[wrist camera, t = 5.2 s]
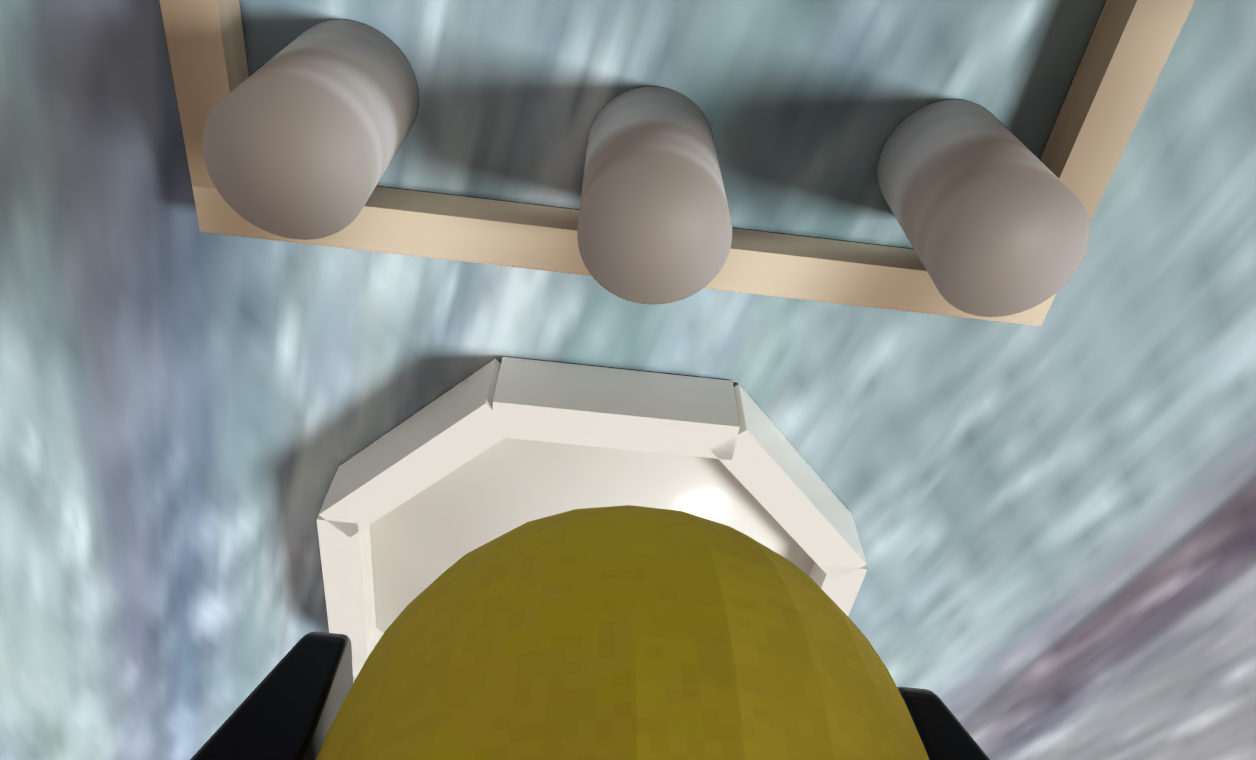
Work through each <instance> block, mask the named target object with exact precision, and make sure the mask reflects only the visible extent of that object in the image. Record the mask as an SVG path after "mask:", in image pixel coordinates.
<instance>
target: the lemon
mask: <svg viewBox="0 0 1256 760" xmlns="http://www.w3.org/2000/svg"><path fill="white" fill-rule="evenodd" d="M315 760H929V758H928V755H927V753H926V750H925V748H924V745H923V743H922V741H921V738H920V736H919V734H918V731H917V729H916V727H915V724H914V722H913V720H912V717H911V715H910V713H909V710H908V708H907V706H906V704H905V702H904V700H903V698H902V696H901V694H900V692H899V690H898V688H897V687H896V685H895V683H894V681H893V679H892V677H891V675H890V673H889V671H888V670H887V668H886V666H885V665H884V663H883V662H882V660H881V659H880V657H879V656H878V654H877V653H876V651H875V650H874V648H873V647H872V645H871V644H870V642H869V641H868V639H867V638H866V637H865V636H864V635H863V633H862V632H861V631H860V630H859V629H858V628H857V627H856V625H855V624H854V623H853V622H852V621H851V620H850V619H849V617H848V616H847V615H846V614H845V613H844V612H843V611H842V610H841V609H840V608H839V607H838V605H837V604H836V603H835V602H834V601H833V600H832V599H831V598H830V597H829V596H828V595H827V594H826V593H825V592H824V591H823V590H822V589H821V588H820V587H819V586H818V585H817V584H816V583H815V582H814V580H813V579H812V578H810V577H809V576H808V575H807V574H806V573H804V572H803V571H802V570H801V569H799V568H798V567H797V566H796V565H795V564H793V563H792V562H791V561H789V560H788V559H786V558H784V557H783V556H781V555H779V554H778V553H776V552H774V551H773V550H771V549H769V548H767V547H766V546H764V545H762V544H761V543H759V542H757V541H756V540H754V539H752V538H751V537H749V536H747V535H745V534H743V533H742V532H740V531H738V530H736V529H734V528H732V527H730V526H727V525H724V524H721V523H718V522H715V521H711V520H708V519H705V518H702V517H699V516H696V515H693V514H690V513H687V512H684V511H677V510H668V509H659V508H650V507H641V506H632V505H626V506H611V507H597V508H583V509H575V510H571V511H567V512H563V513H559V514H556V515H552V516H548V517H544V518H541V519H537V520H533V521H529V522H526V523H525V524H523V525H521V526H519V527H517V528H515V529H513V530H511V531H509V532H507V533H505V534H503V535H501V536H499V537H498V538H496V539H494V540H492V541H490V542H488V543H486V544H484V545H482V546H480V547H478V548H477V549H475V550H473V551H471V552H469V553H467V554H465V555H464V556H463V557H462V558H460V559H459V560H458V561H457V562H456V563H454V564H453V565H452V566H451V567H449V568H448V569H447V570H446V571H445V572H444V573H442V574H441V575H440V576H439V577H438V578H437V579H436V580H435V581H434V582H433V583H431V584H430V585H429V586H428V587H427V588H426V589H425V590H424V591H423V592H421V593H420V594H419V595H418V596H417V597H416V598H415V599H414V600H413V601H412V602H410V603H409V604H408V605H407V606H406V608H405V609H404V610H403V611H402V612H401V613H400V614H399V616H398V617H397V618H396V619H395V620H394V621H393V622H392V624H391V625H390V626H389V627H388V628H387V629H386V631H385V632H384V634H383V635H382V637H381V638H380V640H379V641H378V643H377V644H376V646H375V647H374V649H373V650H372V652H371V653H370V655H369V656H368V658H367V659H366V661H365V663H364V665H363V667H362V668H361V670H360V672H359V674H358V676H357V678H356V679H355V681H354V683H353V685H352V687H351V689H350V691H349V692H348V694H347V696H346V698H345V700H344V702H343V703H342V705H341V707H340V709H339V711H338V713H337V715H336V717H335V719H334V721H333V722H332V724H331V726H330V728H329V730H328V732H327V734H326V736H325V738H324V740H323V742H322V744H321V747H320V749H319V751H318V754H317V756H316V758H315Z"/></svg>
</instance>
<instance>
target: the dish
mask: <svg viewBox="0 0 1256 760" xmlns="http://www.w3.org/2000/svg"><path fill="white" fill-rule="evenodd" d="M626 505H632V506H641V507H650V508H659V509H668V510H677V511H684V512H687V513H690V514H693V515H696V516H699V517H702V518H705V519H708V520H711V521H715V522H718V523H721V524H724V525H727V526H730V527H732V528H734V529H736V530H738V531H740V532H742V533H743V534H745V535H747V536H749V537H751V538H752V539H754V540H756V541H757V542H759V543H761V544H762V545H764V546H766V547H767V548H769V549H771V550H773V551H774V552H776V553H778V554H779V555H781V556H783V557H784V558H786V559H788V560H789V561H791V562H792V563H793V564H795V565H796V566H797V567H798V568H799V569H801V570H802V571H803V572H804V573H806V574H807V575H808V576H809V577H810V578H812V579H813V580H814V582H815V583H816V584H817V585H818V586H819V587H820V588H821V589H822V590H823V591H824V592H825V593H826V594H827V595H828V596H829V597H830V598H831V599H832V600H833V601H834V602H835V603H836V604H837V605H838V607H839V608H840V609H841V610H842V611H843V612H844V613H845V614H846V615H847V616H848V615H849V613H850V610H851V608H852V605H853V603H854V601H855V598H856V596H857V593H858V591H859V589H860V586H861V584H862V581H863V579H864V577H865V574H866V572H867V566H866V565H867V564H866V560H865V557H864V554H863V550H862V547H861V543H860V540H859V537H858V533H857V530H856V526H855V523H854V520H853V516H852V514H851V513H850V512H849V511H848V510H847V509H846V507H845V506H844V505H843V504H842V503H841V502H840V500H839V499H838V498H837V497H836V496H835V495H834V493H833V492H832V491H831V490H830V489H829V488H828V487H827V485H826V484H825V483H824V482H823V481H822V480H821V478H820V477H819V476H818V475H817V474H816V473H815V471H814V470H813V469H812V468H811V467H810V466H809V465H808V463H807V462H806V461H805V460H804V459H803V458H802V456H801V455H800V454H799V453H798V452H797V451H796V449H795V448H794V447H793V446H792V445H791V444H790V443H789V441H788V440H787V439H786V438H785V437H784V436H783V434H782V433H781V432H780V431H779V430H778V429H777V427H776V426H775V425H774V424H773V423H772V422H771V421H770V419H769V418H768V417H767V416H766V415H765V414H764V412H763V411H762V410H761V409H760V408H759V407H758V406H757V404H756V403H755V402H754V401H753V400H752V399H751V397H750V396H749V395H748V394H747V393H746V392H745V390H744V389H743V388H742V387H741V386H740V385H739V384H738V385H736V386H734V387H733V381H729V380H720V379H710V378H701V377H691V376H682V375H672V374H663V373H653V372H644V371H634V370H625V369H615V368H605V367H596V366H586V365H577V364H567V363H558V362H548V361H539V360H529V359H520V358H510V357H502V362H501V363H500V362H499V361H498V360H497V359H496V358H495V359H494V360H492V361H491V362H489V363H488V364H487V365H485V366H484V367H482V368H481V369H479V370H478V371H476V372H475V373H473V374H472V375H471V376H469V377H468V378H466V379H465V380H463V381H462V382H460V383H459V384H458V385H456V386H455V387H453V388H452V389H450V390H449V391H447V392H446V393H444V394H443V395H442V396H440V397H439V398H437V399H436V400H434V401H433V402H431V403H430V404H429V405H427V406H426V407H424V408H423V409H421V410H420V411H418V412H417V413H416V414H414V415H413V416H411V417H410V418H408V419H407V420H405V421H404V422H402V423H401V424H400V425H398V426H397V427H395V428H394V429H392V430H391V431H389V432H388V433H387V434H385V435H384V436H382V437H381V438H379V439H378V440H376V441H375V442H373V443H372V444H371V445H369V446H368V447H366V448H365V449H363V450H362V451H360V452H359V453H358V454H356V455H355V456H353V457H352V458H350V459H349V460H347V461H346V462H345V463H343V464H342V465H340V466H339V467H338V470H337V471H336V473H335V476H334V478H333V481H332V483H331V486H330V488H329V490H328V493H327V495H326V498H325V500H324V502H323V505H322V507H321V510H320V512H319V514H318V517H317V519H316V520H317V529H318V538H319V547H320V555H321V564H322V573H323V581H324V590H325V599H326V608H327V616H328V625H329V633H337V634H344V635H347V636H348V637H349V638H350V641H351V645H352V669H353V676H354V677H356V678H357V676H358V674H359V672H360V670H361V668H362V667H363V665H364V663H365V661H366V659H367V658H368V656H369V655H370V653H371V652H372V650H373V649H374V647H375V646H376V644H377V643H378V641H379V640H380V638H381V637H382V635H383V634H384V632H385V631H386V629H387V628H388V627H389V626H390V625H391V624H392V622H393V621H394V620H395V619H396V618H397V617H398V616H399V614H400V613H401V612H402V611H403V610H404V609H405V608H406V606H407V605H408V604H409V603H410V602H412V601H413V600H414V599H415V598H416V597H417V596H418V595H419V594H420V593H421V592H423V591H424V590H425V589H426V588H427V587H428V586H429V585H430V584H431V583H433V582H434V581H435V580H436V579H437V578H438V577H439V576H440V575H441V574H442V573H444V572H445V571H446V570H447V569H448V568H449V567H451V566H452V565H453V564H454V563H456V562H457V561H458V560H459V559H460V558H462V557H463V556H464V555H465V554H467V553H469V552H471V551H473V550H475V549H477V548H478V547H480V546H482V545H484V544H486V543H488V542H490V541H492V540H494V539H496V538H498V537H499V536H501V535H503V534H505V533H507V532H509V531H511V530H513V529H515V528H517V527H519V526H521V525H523V524H525V523H526V522H529V521H533V520H537V519H541V518H544V517H548V516H552V515H556V514H559V513H563V512H567V511H571V510H575V509H583V508H597V507H611V506H626Z"/></svg>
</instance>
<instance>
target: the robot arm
mask: <svg viewBox="0 0 1256 760" xmlns="http://www.w3.org/2000/svg"><path fill="white" fill-rule="evenodd" d="M352 685H353V669H352V645H351V641H350V638H349V637H348V636H347V635H344V634H337V633H326V632H310V633H308V634H306V635H305V636H304V637H302V638H301V639H300V640H299V642H298V643H297V644H296V645H295V646H294V647H293V648H292V649H291V650H290V651H289V652H288V654H287V655H286V656H285V657H284V658H283V659H282V660H281V661H280V662H279V663H278V664H277V666H276V667H275V668H274V669H273V670H272V671H271V672H270V673H269V674H268V675H267V676H266V678H265V679H264V680H263V681H262V682H261V683H260V684H259V685H258V686H257V687H256V688H255V690H254V691H253V692H252V693H251V694H250V695H249V696H248V697H247V698H246V699H245V700H244V702H243V703H242V704H241V705H240V706H239V707H238V708H237V709H236V710H235V711H234V712H233V714H232V715H231V716H230V717H229V718H228V719H227V720H226V721H225V722H224V723H223V724H222V726H221V727H220V728H219V729H218V730H217V731H216V732H215V733H214V734H213V735H212V736H211V738H210V739H209V740H208V741H207V742H206V743H205V744H204V745H203V746H202V747H201V749H200V750H199V751H198V752H197V753H196V754H195V755H194V756H193V757H192V758H191V759H190V760H315V758H316V756H317V754H318V751H319V749H320V747H321V744H322V742H323V740H324V738H325V736H326V734H327V732H328V730H329V728H330V726H331V724H332V722H333V721H334V719H335V717H336V715H337V713H338V711H339V709H340V707H341V705H342V703H343V702H344V700H345V698H346V696H347V694H348V692H349V691H350V689H351V687H352ZM897 688H898V690H899V692H900V694H901V696H902V698H903V700H904V702H905V704H906V706H907V708H908V710H909V713H910V715H911V717H912V720H913V722H914V724H915V727H916V729H917V731H918V734H919V736H920V738H921V741H922V743H923V745H924V748H925V750H926V753H927V755H928V758H929V760H990V759H989V758H988V757H987V755H986V754H985V753H984V752H983V751H982V749H981V748H980V747H979V746H978V744H977V743H976V742H975V741H974V740H973V738H972V737H971V736H970V735H969V733H968V732H967V731H966V730H965V728H964V727H963V726H962V725H961V724H960V722H959V721H958V720H957V719H956V717H955V716H954V715H953V714H952V713H951V711H950V710H949V709H948V708H947V706H946V705H945V704H944V703H943V702H942V700H941V699H940V698H939V697H938V696H937V695H936V694H934V693H933V692H931V691H929V690H926V689H917V688H907V687H897Z"/></svg>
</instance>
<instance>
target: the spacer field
mask: <svg viewBox="0 0 1256 760" xmlns="http://www.w3.org/2000/svg"><path fill="white" fill-rule="evenodd" d="M159 1H160V6H161V12H162V18H163V24H164V29H165V35H166V41H167V46H168V52H169V58H170V63H171V69H172V75H173V81H174V86H175V92H176V98H177V103H178V109H179V115H180V120H181V126H182V132H183V137H184V143H185V149H186V155H187V160H188V166H189V172H190V177H191V183H192V189H193V194H194V200H195V206H196V212H197V217H198V223H199V229H200V232H207V233H216V234H225V235H233V236H242V237H251V238H260V239H269V240H278V241H287V242H296V243H305V244H314V245H323V246H331V247H340V248H349V249H358V250H367V251H376V252H385V253H394V254H403V255H412V256H421V257H429V258H438V259H447V260H456V261H465V262H474V263H483V264H492V265H501V266H510V267H519V268H527V269H536V270H545V271H554V272H563V273H572V274H581V275H590V276H593V278H594V279H595V280H596V281H597V282H598V283H599V284H600V285H601V286H602V287H604V288H605V289H606V290H608V291H609V292H611V293H613V294H614V295H616V296H618V297H621V298H623V299H625V300H629V301H632V302H636V303H642V304H665V303H671V302H675V301H678V300H682V299H684V298H687V297H689V296H691V295H693V294H695V293H697V292H698V291H700V290H701V289H703V288H706V289H714V290H723V291H732V292H741V293H750V294H759V295H768V296H777V297H786V298H795V299H804V300H812V301H821V302H830V303H839V304H848V305H857V306H866V307H875V308H884V309H893V310H902V311H910V312H919V313H928V314H937V315H946V316H955V317H964V318H973V319H982V320H991V321H999V322H1008V323H1017V324H1026V325H1035V326H1041V325H1042V323H1043V321H1044V319H1045V316H1046V314H1047V312H1048V310H1049V308H1050V306H1051V304H1052V302H1053V299H1054V297H1055V295H1056V293H1057V292H1058V291H1059V290H1060V289H1061V288H1063V287H1064V286H1065V285H1066V284H1067V283H1068V281H1069V280H1070V279H1071V278H1072V277H1073V275H1074V274H1075V273H1076V271H1077V270H1078V268H1079V267H1080V265H1081V263H1082V261H1083V259H1084V257H1085V254H1086V252H1087V248H1088V245H1089V239H1090V221H1091V219H1092V217H1093V215H1094V213H1095V211H1096V208H1097V206H1098V204H1099V202H1100V200H1101V198H1102V196H1103V194H1104V192H1105V189H1106V187H1107V185H1108V183H1109V181H1110V179H1111V177H1112V175H1113V172H1114V170H1115V168H1116V166H1117V164H1118V162H1119V160H1120V158H1121V156H1122V153H1123V151H1124V149H1125V147H1126V145H1127V143H1128V141H1129V139H1130V136H1131V134H1132V132H1133V130H1134V128H1135V126H1136V124H1137V122H1138V120H1139V117H1140V115H1141V113H1142V111H1143V109H1144V107H1145V105H1146V103H1147V100H1148V98H1149V96H1150V94H1151V92H1152V90H1153V88H1154V86H1155V84H1156V81H1157V79H1158V77H1159V75H1160V73H1161V71H1162V69H1163V67H1164V65H1165V62H1166V60H1167V58H1168V56H1169V54H1170V52H1171V50H1172V48H1173V45H1174V43H1175V41H1176V39H1177V37H1178V35H1179V33H1180V31H1181V29H1182V26H1183V24H1184V22H1185V20H1186V18H1187V16H1188V14H1189V12H1190V9H1191V7H1192V5H1193V3H1194V1H1195V0H1106V2H1105V5H1104V7H1103V9H1102V12H1101V14H1100V17H1099V19H1098V21H1097V24H1096V26H1095V29H1094V31H1093V33H1092V36H1091V38H1090V41H1089V43H1088V45H1087V48H1086V50H1085V53H1084V55H1083V57H1082V60H1081V62H1080V65H1079V67H1078V69H1077V72H1076V74H1075V77H1074V79H1073V81H1072V84H1071V86H1070V89H1069V91H1068V93H1067V96H1066V98H1065V101H1064V103H1063V105H1062V108H1061V110H1060V113H1059V115H1058V117H1057V120H1056V122H1055V125H1054V127H1053V129H1052V132H1051V134H1050V137H1049V139H1048V141H1047V144H1046V146H1045V149H1044V151H1043V153H1042V156H1041V158H1040V160H1039V159H1038V158H1037V157H1036V156H1035V155H1034V154H1033V153H1032V152H1031V151H1030V150H1029V149H1028V148H1027V147H1026V146H1025V145H1024V144H1023V143H1022V142H1021V141H1020V140H1019V139H1018V138H1017V137H1016V136H1014V135H1013V134H1012V133H1011V132H1010V131H1009V130H1008V129H1007V128H1006V127H1005V126H1004V125H1003V124H1002V123H1001V122H1000V121H999V120H998V119H997V118H996V117H995V116H994V115H993V114H992V113H991V112H989V111H988V110H987V109H986V108H984V107H982V106H980V105H979V104H976V103H973V102H970V101H965V100H944V101H939V102H935V103H932V104H929V105H926V106H924V107H922V108H920V109H918V110H916V111H915V112H913V113H912V114H910V115H909V116H908V117H906V118H905V119H904V120H903V121H902V122H901V123H899V124H898V125H897V127H896V128H895V129H894V130H893V131H892V133H891V134H890V136H889V137H888V138H887V140H886V142H885V144H884V146H883V148H882V151H881V154H880V157H879V161H878V169H877V175H878V183H879V187H880V190H881V193H882V194H883V196H884V198H885V200H886V202H887V203H888V205H889V207H890V208H891V210H892V212H893V214H894V215H895V217H896V219H897V220H898V222H899V224H900V226H901V227H902V229H903V231H904V233H905V234H906V236H907V238H908V239H909V241H910V243H911V245H912V246H913V248H914V249H906V248H897V247H889V246H880V245H872V244H863V243H855V242H846V241H838V240H829V239H821V238H812V237H804V236H795V235H787V234H778V233H770V232H761V231H753V230H744V229H736V228H732V223H731V217H730V212H729V208H728V203H727V198H726V194H725V189H724V185H723V180H722V176H721V171H720V166H719V162H718V157H717V153H716V148H715V144H714V139H713V134H712V131H711V128H710V125H709V123H708V121H707V118H706V117H705V115H704V114H703V112H702V111H701V110H700V109H699V107H698V106H697V105H696V104H695V103H694V102H693V101H691V100H690V99H689V98H687V97H686V96H684V95H682V94H680V93H678V92H676V91H674V90H671V89H667V88H662V87H652V86H650V87H640V88H635V89H632V90H629V91H626V92H624V93H622V94H620V95H618V96H617V97H615V98H614V99H612V100H611V101H610V102H609V103H607V104H606V105H605V106H604V107H603V109H602V110H601V111H600V112H599V114H598V115H597V117H596V118H595V120H594V122H593V124H592V126H591V129H590V132H589V136H588V142H587V150H586V159H585V168H584V176H583V185H582V194H581V203H580V210H574V209H565V208H557V207H548V206H540V205H531V204H523V203H514V202H506V201H497V200H489V199H480V198H472V197H463V196H455V195H446V194H438V193H429V192H421V191H412V190H404V189H395V188H386V187H378V186H376V185H377V184H378V182H379V180H380V179H381V177H382V175H383V174H384V172H385V170H386V169H387V167H388V165H389V164H390V162H391V160H392V159H393V157H394V155H395V154H396V152H397V150H398V149H399V147H400V145H401V144H402V142H403V140H404V139H405V137H406V135H407V134H408V132H409V130H410V129H411V127H412V125H413V123H414V121H415V118H416V116H417V112H418V107H419V90H418V84H417V80H416V77H415V74H414V71H413V69H412V67H411V65H410V63H409V61H408V60H407V58H406V56H405V55H404V53H403V52H402V51H401V50H400V48H399V47H398V46H397V45H396V44H395V43H394V42H393V41H392V40H391V39H389V38H388V37H387V36H386V35H384V34H383V33H381V32H380V31H378V30H376V29H375V28H373V27H370V26H368V25H366V24H363V23H360V22H356V21H351V20H341V19H338V20H329V21H324V22H321V23H318V24H316V25H314V26H312V27H310V28H308V29H307V30H306V31H304V32H303V33H302V34H301V35H300V36H298V37H297V38H296V39H295V40H293V41H292V42H291V43H290V44H289V45H287V46H286V47H285V48H284V49H283V50H281V51H280V52H279V53H278V54H277V55H275V56H274V57H273V58H272V59H270V60H269V61H268V62H267V63H266V64H264V65H263V66H262V67H261V68H260V69H258V70H257V71H256V72H255V73H253V74H252V75H251V76H250V77H249V73H248V65H247V57H246V49H245V42H244V34H243V26H242V18H241V10H240V2H239V0H159Z"/></svg>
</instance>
